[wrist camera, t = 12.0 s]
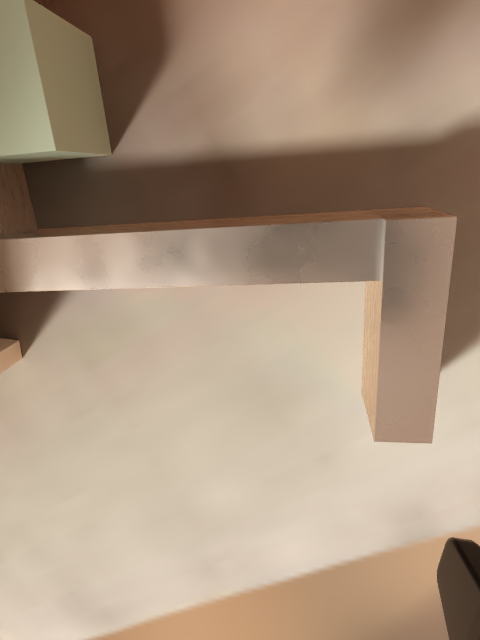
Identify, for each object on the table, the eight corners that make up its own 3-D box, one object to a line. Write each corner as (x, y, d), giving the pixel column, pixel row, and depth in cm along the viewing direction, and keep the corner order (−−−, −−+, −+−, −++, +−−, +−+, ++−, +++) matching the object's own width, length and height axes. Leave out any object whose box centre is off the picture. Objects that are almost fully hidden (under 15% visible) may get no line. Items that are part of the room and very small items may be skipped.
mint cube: (113, 155, 16) (55, 150, 12) (23, 163, 17) (-56, 161, 13) (93, 38, 15) (22, -8, 11) (-4, 51, 15) (-101, 14, 12)
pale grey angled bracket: (408, 393, 18) (431, 443, 14) (40, 388, 21) (-9, 429, 17) (436, 50, 13) (480, 12, 10) (-38, 106, 16) (-123, 90, 13)
